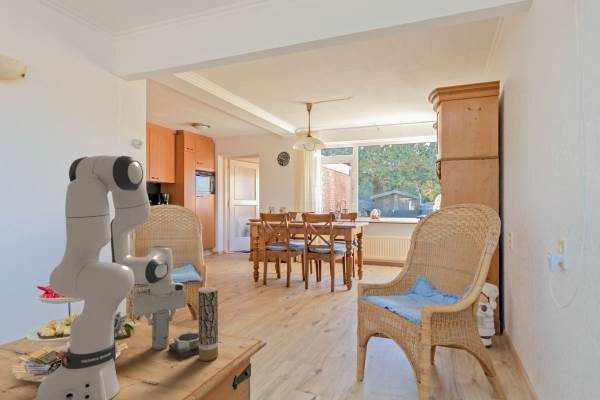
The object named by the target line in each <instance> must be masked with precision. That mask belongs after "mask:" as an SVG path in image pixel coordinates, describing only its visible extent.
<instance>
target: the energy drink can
mask: <svg viewBox="0 0 600 400" xmlns="http://www.w3.org/2000/svg"><path fill="white" fill-rule="evenodd" d="M151 316H152V320H154V322H153V323H154V325H151V328H152V329H151V330H152V331H151V347H152V348H153V350H156V351H160V350H164V349H166V348H167V347H168V346H169V344H170V342H169V335H170V334H169V333H170V332H169V331H170V330H169V329H170V321H169V316H170V310H168V311H167V309H165V310H160V311H158V312H157V313H153V314H151Z"/></svg>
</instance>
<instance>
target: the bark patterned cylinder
mask: <svg viewBox="0 0 600 400" xmlns="http://www.w3.org/2000/svg"><path fill="white" fill-rule="evenodd" d="M198 332H199V354H198V358H199V360H200V361H203V362H209V361H213V360H215V359H216V358H217V357H218V356H219V289H218V286H203V287H199V288H198Z"/></svg>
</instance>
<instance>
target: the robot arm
mask: <svg viewBox="0 0 600 400" xmlns="http://www.w3.org/2000/svg"><path fill="white" fill-rule="evenodd" d="M68 169H69V170H68V179H69V183H68V185H67V189H66V193H65V206H64V213H65V214H64V215H65V227H66V228H65V231H66V232H65V234H66V244H65V249H64V254H63V257H62V259H61V261H60V263H59V264H58V265H57V266H56V267H55V268H54V269H53V270H52V271H51V273H50V276H49V281H48V282H49V288H50V289H51V292H54V293H55V294H56V295H59V296H62V297H63V298H67V299H75V300H76V299H77V300H84V304H83V309H82V312H81V313H80V314H79V315H77V316H75V318H73V319H72V321H71V323H70V325H69V327H70V328H69V329H70V330H69V349H68V350H67V351H66V350H65V349H61V350H59V351H58V353H57V356H58V359H60V363H61V365H60V366H59V367H57V368H56V369H55V370H54V371H53V372H52V373H51V374H50V375H48V376H47V377H46V378H45V379H44V380H42V381H41V382H40V384H39V387H38V389H37V392H36V396H35V398H33V399H32V400H111V399H113V398H114V397H115V396H116V395H117V394H118V393H119V391H120V389H121V386H120V383H119V380H118V376H117V371H116V363H115V361H116V357H117V345H116V342H115V337H114V320H115V315H116V314H117V311H118V308H119V306H120V304H121V303H122V302H123V300H124V299H126V298H127V297H128V296H129V295H130V294H131V292H132V291H133V289H134V287H135V285H148V288H147V289H142V290H137V291H136V292H134V293H133V294H132V309H131V310H132V311H131V312H132V315H133V316H135V317H142V316H144V317H145V318H146V319H147V321H148V322H147V323H148V326H152V325H154V323H153V322H154V320H152V319H151V318H150V317H151V316H152V314H153V313H157V312H158V311H160V310H165V309H167V311H169V312H170V313H169V322H172V321H174V320H173V319H174V318H173V317H174V315H175V313H176V310H177V309H182V308H183V309H184V308H186V307H187V305H188V295H187V294H188V293H187V292H186V290H185V289H186V285H185V284H184V283H182V282H178V281H174V276H173V270H174V256H173V251H172V248H171V247H168V246H161V245H158V246H156V245H154V246H152V247H150V251H149V253H148V254H147V255H145V256H143V257H139V256H138V257H137V256H136V257H135V256H133V255H131V254H130V252H129V251H130V250H129V233H130V232H132V231H134V230H136V229H138V228H140V227H143V225H145V224H146V223H147V222H148V221H149V219H150V217H151V211H152V210H151V209H152V208H151V204H150V200H149V195H148V192H147V189H146V185H145V183H144V180H143V179H144V169H143V166H142V164H141V162H139V161H138V160H137V159H136V158H135V157H133V156H132V157H131V156H128V155H120V156H119V155H105V154H104V155H93V156H84V157H80V158H77V159H75V160H73V161H72V162H71V165H70V167H69V168H68ZM109 192H111V195H112V196H111V197H112V202H113V207H114V218H113V219H112V220H111V213H110V209H111V208H110V203H109V199H108V198H109V197H108V194H109ZM109 243H110V249H111V262H108V261H107V262H106V261H105V262H104V261H100V254H101V251H102V249H103V248H104V247H106V246H107V245H108V244H109Z"/></svg>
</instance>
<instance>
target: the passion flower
mask: <svg viewBox="0 0 600 400" xmlns="http://www.w3.org/2000/svg"><path fill="white" fill-rule="evenodd" d="M121 315H122V312H121V311H118V312H116V315H115V320H114V339H115V338H117V337H118V336H119V333H120V331H121V333H124V332H123V331H125V334H126V335H127V337H129V338H131V337H130V336H132V334H134V333H135V328H134V327H133V325H135V324H136V321H135V319H134V318H132V319H130V320H129V321H127V319H128V318H129V316H128V315H125V316H122V317H121ZM131 321H132V322H133V323H134V324H133V325H131V324H129V322H131Z"/></svg>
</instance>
